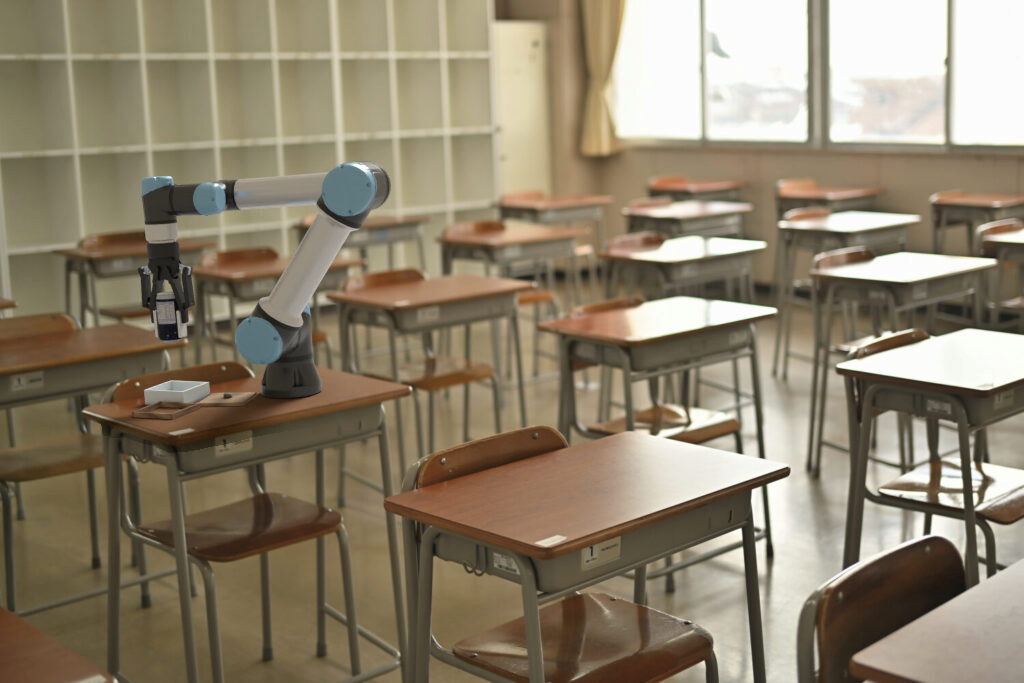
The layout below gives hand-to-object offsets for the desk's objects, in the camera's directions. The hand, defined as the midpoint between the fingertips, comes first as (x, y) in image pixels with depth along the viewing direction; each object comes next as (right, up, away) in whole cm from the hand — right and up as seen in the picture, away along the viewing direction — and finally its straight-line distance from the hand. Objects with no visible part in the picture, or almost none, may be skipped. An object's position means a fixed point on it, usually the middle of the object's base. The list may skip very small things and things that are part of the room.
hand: (171, 336), depth 288 cm
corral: (+1, -18, -7) cm, 19 cm away
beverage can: (0, -2, 0) cm, 2 cm away
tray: (0, -16, +6) cm, 17 cm away
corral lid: (+13, -16, +3) cm, 21 cm away
